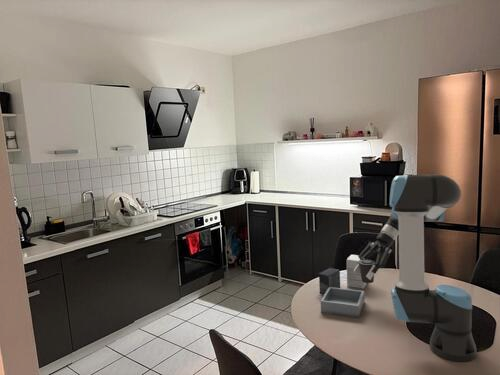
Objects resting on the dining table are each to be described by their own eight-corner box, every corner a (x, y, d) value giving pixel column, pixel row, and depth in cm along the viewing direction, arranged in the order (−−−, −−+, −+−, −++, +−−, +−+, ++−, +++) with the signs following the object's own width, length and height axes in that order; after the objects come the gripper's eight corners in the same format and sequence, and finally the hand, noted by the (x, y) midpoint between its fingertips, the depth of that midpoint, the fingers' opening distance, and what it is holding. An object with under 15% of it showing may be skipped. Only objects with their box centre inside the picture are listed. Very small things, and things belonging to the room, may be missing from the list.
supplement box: (351, 280, 210) (350, 254, 208) (367, 282, 205) (367, 256, 203) (346, 286, 202) (345, 259, 200) (363, 289, 198) (363, 261, 196)
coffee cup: (355, 281, 181) (355, 261, 180) (364, 276, 187) (363, 256, 185) (371, 285, 175) (371, 264, 174) (379, 280, 181) (379, 259, 179)
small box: (330, 286, 204) (329, 267, 203) (341, 289, 199) (340, 269, 198) (318, 292, 197) (318, 272, 195) (329, 295, 192) (329, 275, 191)
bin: (359, 317, 167) (358, 306, 167) (320, 312, 174) (320, 301, 174) (364, 301, 183) (364, 291, 182) (329, 297, 190) (328, 286, 189)
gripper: (408, 245, 175) (382, 286, 171) (376, 236, 194) (352, 272, 190) (399, 236, 172) (372, 277, 168) (367, 227, 191) (343, 264, 187)
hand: (361, 275), depth 179 cm, fingers closed on coffee cup, 8 cm apart
